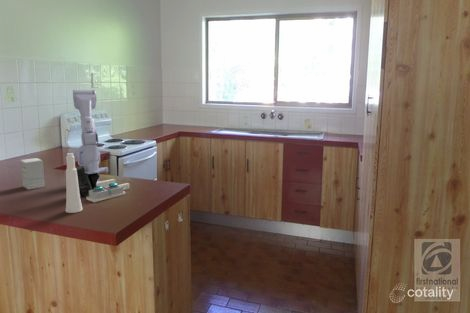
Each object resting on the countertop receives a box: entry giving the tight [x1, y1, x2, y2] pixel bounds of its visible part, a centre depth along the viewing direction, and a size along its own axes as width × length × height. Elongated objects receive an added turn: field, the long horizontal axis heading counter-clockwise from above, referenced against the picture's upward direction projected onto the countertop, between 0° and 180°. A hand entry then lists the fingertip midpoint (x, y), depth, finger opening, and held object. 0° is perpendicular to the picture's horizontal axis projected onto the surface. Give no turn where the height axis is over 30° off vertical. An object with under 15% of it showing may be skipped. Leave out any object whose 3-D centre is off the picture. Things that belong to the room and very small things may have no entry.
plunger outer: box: [94, 186, 104, 192], centre depth 156 cm, size 4×4×4 cm
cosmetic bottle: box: [65, 152, 84, 214], centre depth 140 cm, size 6×6×22 cm
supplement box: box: [20, 157, 46, 191], centre depth 171 cm, size 7×7×13 cm
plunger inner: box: [109, 182, 119, 189], centre depth 161 cm, size 4×4×4 cm
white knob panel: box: [85, 178, 130, 203], centre depth 165 cm, size 18×21×4 cm
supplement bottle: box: [75, 165, 93, 198], centre depth 159 cm, size 7×7×12 cm
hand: (93, 190), depth 163 cm, fingers closed, pressing on supplement bottle
